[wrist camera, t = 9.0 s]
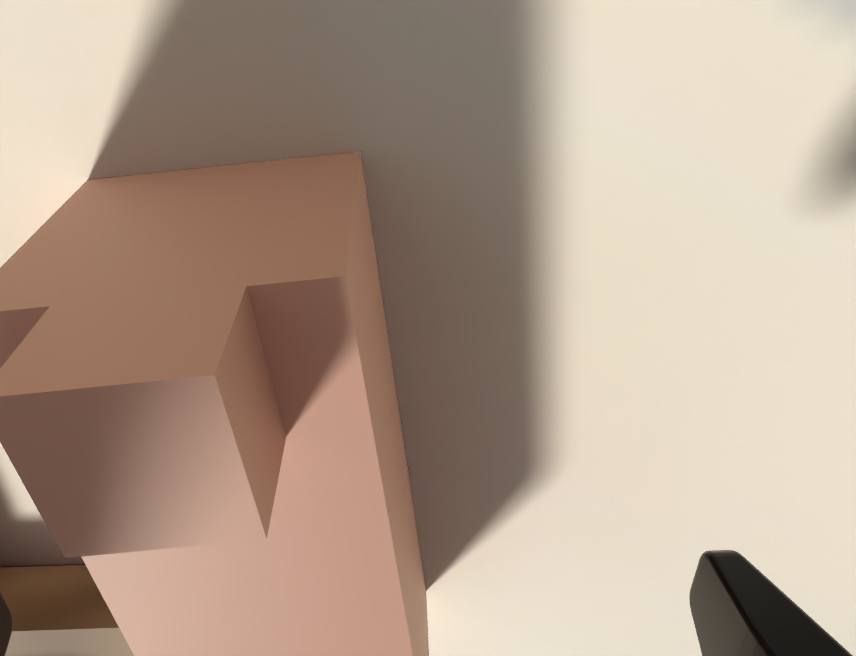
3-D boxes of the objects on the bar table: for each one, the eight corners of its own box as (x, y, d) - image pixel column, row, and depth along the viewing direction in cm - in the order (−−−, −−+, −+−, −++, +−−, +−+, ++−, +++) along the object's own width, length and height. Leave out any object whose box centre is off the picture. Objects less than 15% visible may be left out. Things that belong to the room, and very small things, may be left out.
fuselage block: (360, 146, 11) (334, 363, 6) (425, 583, 16) (438, 876, 11) (93, 174, 11) (-143, 410, 6) (247, 600, 16) (188, 897, 11)
